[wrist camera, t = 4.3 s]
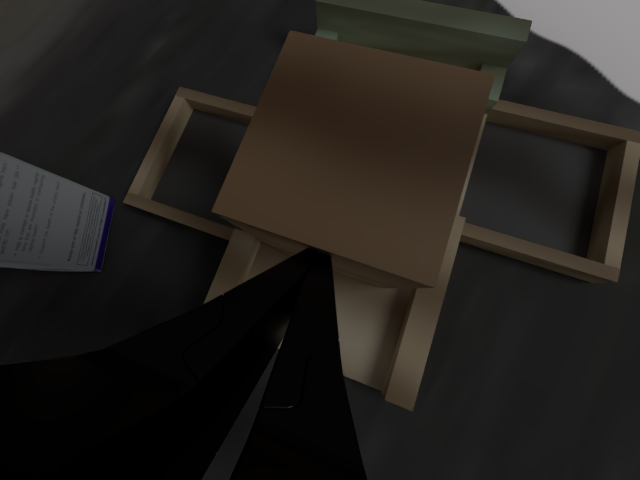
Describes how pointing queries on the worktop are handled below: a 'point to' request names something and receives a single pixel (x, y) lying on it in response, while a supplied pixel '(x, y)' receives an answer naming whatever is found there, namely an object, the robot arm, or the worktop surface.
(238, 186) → the walnut block
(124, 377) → the robot arm
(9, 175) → the supplement box
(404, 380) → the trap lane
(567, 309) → the worktop surface
